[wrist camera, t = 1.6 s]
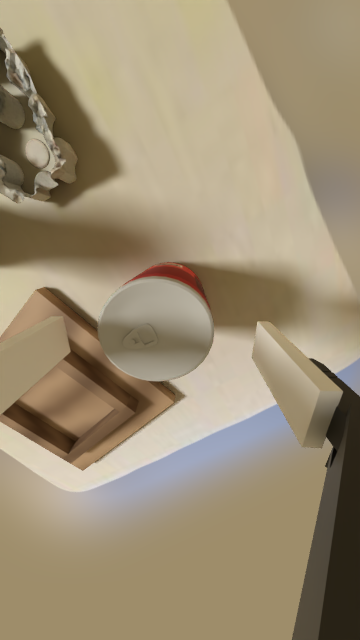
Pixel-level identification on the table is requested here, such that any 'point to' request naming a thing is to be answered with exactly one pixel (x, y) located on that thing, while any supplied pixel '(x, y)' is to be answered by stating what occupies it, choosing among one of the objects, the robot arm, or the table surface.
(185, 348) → the canned food
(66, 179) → the egg carton
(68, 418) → the walnut holder
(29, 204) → the table surface
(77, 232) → the table surface
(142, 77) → the table surface
